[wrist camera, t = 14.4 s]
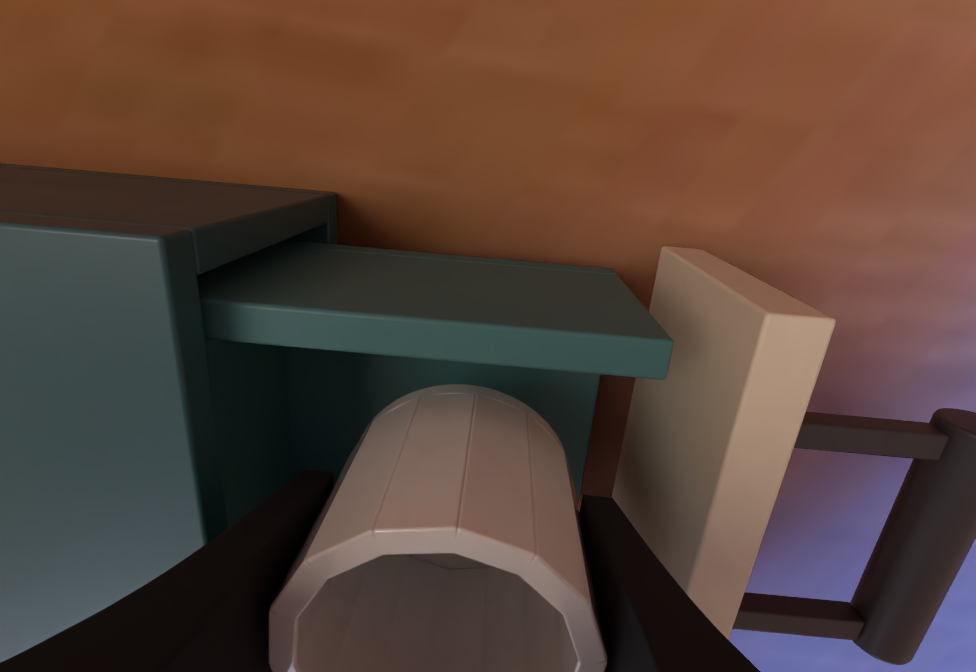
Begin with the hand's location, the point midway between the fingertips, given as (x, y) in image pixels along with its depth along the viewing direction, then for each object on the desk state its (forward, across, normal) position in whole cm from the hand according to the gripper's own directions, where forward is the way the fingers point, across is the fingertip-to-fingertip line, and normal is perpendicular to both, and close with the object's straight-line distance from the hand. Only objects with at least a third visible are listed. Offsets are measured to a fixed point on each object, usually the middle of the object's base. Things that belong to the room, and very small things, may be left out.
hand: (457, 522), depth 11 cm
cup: (+1, 0, 0) cm, 1 cm away
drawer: (+6, -2, 0) cm, 6 cm away
